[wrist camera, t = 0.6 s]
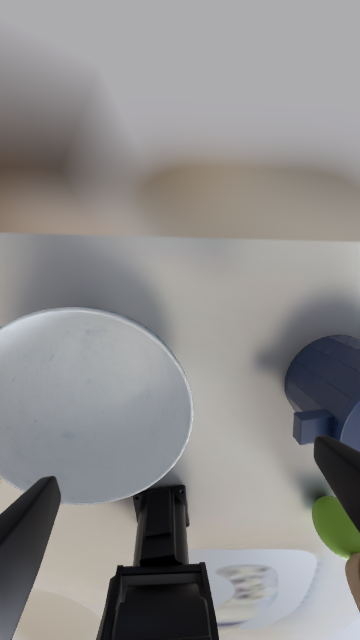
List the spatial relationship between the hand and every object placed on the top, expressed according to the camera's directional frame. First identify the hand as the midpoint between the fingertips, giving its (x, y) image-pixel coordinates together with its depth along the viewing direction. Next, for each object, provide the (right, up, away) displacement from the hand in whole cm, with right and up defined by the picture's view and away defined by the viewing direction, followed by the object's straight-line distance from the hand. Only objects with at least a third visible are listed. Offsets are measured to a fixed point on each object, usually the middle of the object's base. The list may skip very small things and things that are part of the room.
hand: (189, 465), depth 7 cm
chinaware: (-7, 0, +14) cm, 16 cm away
